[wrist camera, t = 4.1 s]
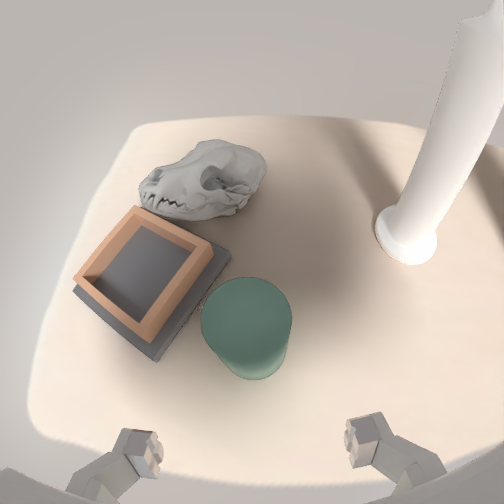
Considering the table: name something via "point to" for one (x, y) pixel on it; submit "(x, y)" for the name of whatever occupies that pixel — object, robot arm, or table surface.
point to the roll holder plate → (148, 278)
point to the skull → (204, 182)
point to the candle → (449, 138)
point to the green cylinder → (247, 326)
